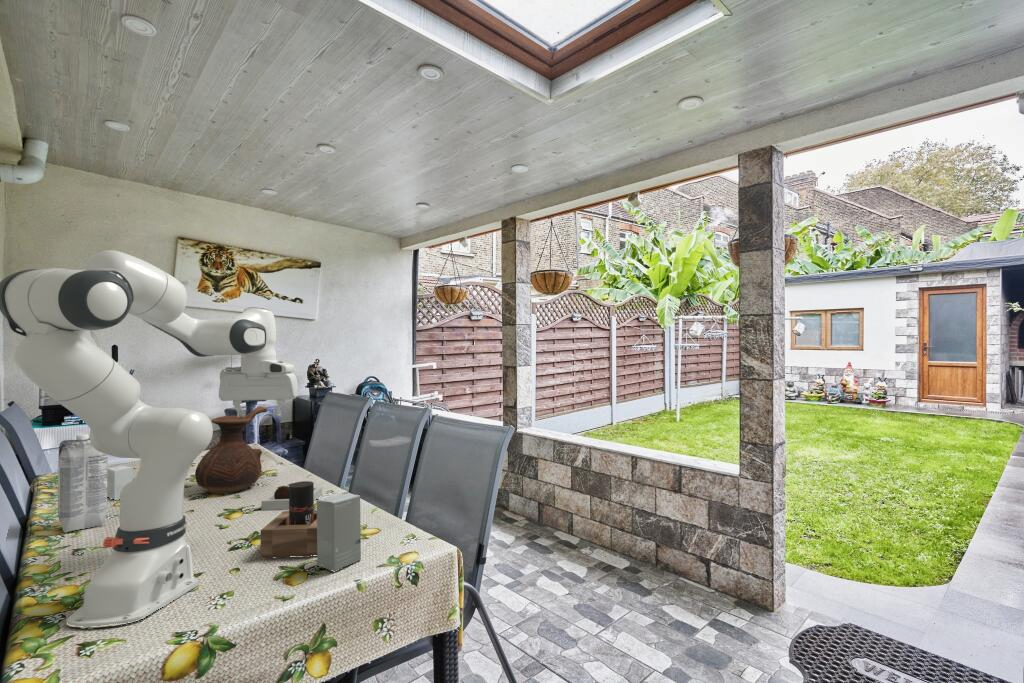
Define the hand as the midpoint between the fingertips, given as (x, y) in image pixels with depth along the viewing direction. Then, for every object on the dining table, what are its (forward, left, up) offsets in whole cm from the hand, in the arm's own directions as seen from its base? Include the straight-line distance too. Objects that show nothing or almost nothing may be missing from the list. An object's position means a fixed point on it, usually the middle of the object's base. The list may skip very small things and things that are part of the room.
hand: (259, 416), depth 133 cm
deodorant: (-8, -14, -32) cm, 36 cm away
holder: (-8, -14, -33) cm, 37 cm away
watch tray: (+30, +2, -33) cm, 45 cm away
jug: (+49, +32, -33) cm, 67 cm away
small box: (+43, +67, -33) cm, 86 cm away
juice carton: (+13, +56, -33) cm, 67 cm away
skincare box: (-19, -27, -33) cm, 47 cm away
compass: (+28, +4, -33) cm, 44 cm away
